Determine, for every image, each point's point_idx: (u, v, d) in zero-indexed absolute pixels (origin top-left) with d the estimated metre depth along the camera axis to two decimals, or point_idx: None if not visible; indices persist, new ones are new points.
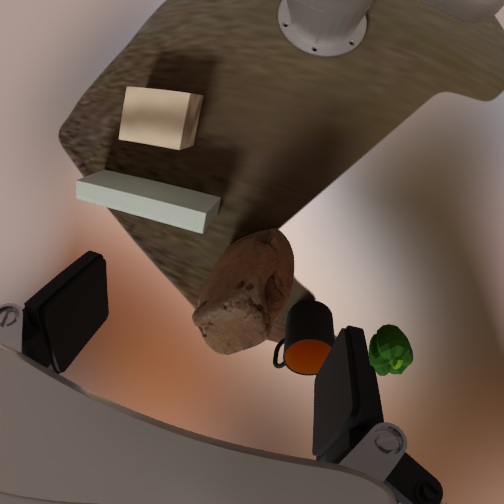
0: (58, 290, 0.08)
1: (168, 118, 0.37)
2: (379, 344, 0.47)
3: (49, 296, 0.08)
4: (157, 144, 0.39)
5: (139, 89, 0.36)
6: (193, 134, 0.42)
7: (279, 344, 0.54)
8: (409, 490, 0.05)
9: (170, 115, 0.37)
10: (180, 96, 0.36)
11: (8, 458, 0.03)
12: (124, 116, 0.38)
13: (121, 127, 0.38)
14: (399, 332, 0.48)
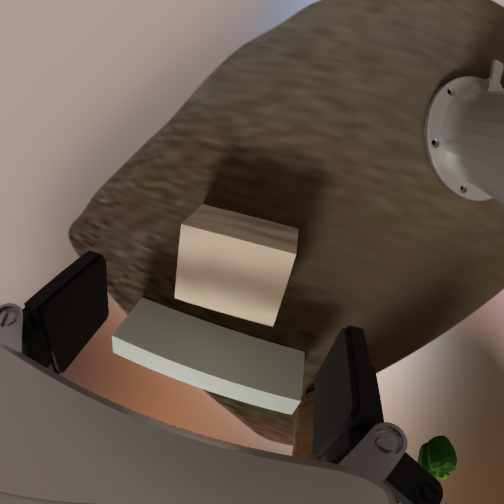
0: (58, 290, 0.08)
1: (258, 285, 0.27)
2: (430, 460, 0.37)
3: (49, 296, 0.08)
4: (239, 315, 0.29)
5: (205, 233, 0.26)
6: None
7: None
8: (409, 490, 0.05)
9: (261, 282, 0.27)
10: (278, 256, 0.25)
11: (8, 458, 0.03)
12: (181, 269, 0.28)
13: (177, 283, 0.28)
14: (449, 446, 0.38)
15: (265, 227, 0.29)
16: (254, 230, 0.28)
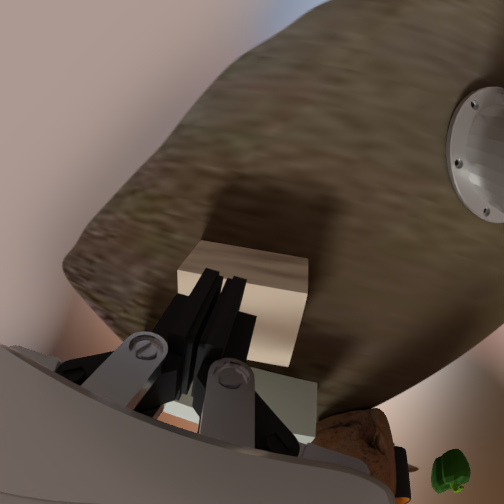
0: (198, 313, 0.09)
1: (268, 328, 0.24)
2: (444, 475, 0.34)
3: (193, 321, 0.08)
4: (250, 358, 0.26)
5: None
6: None
7: None
8: None
9: (271, 324, 0.24)
10: (288, 297, 0.22)
11: (8, 458, 0.03)
12: None
13: None
14: (463, 460, 0.35)
15: (271, 262, 0.26)
16: (259, 268, 0.25)
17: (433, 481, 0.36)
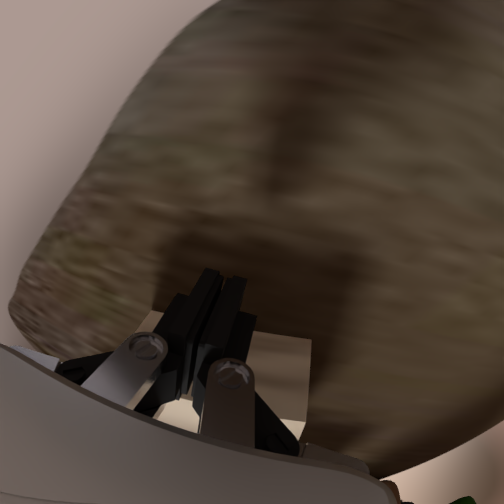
0: (197, 313, 0.09)
1: None
2: None
3: (193, 321, 0.08)
4: None
5: None
6: None
7: None
8: None
9: None
10: None
11: (8, 458, 0.03)
12: None
13: None
14: None
15: (252, 353, 0.16)
16: None
17: None
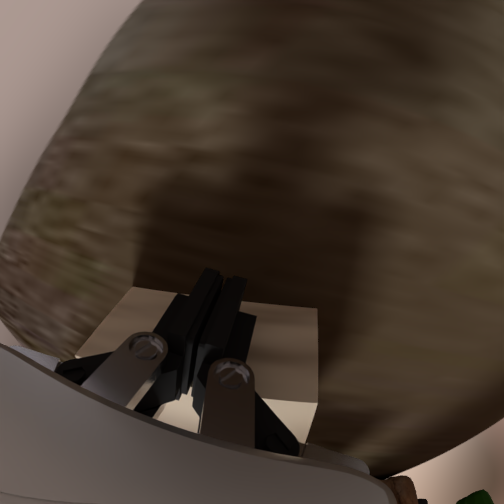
0: (197, 313, 0.09)
1: None
2: None
3: (193, 321, 0.08)
4: None
5: None
6: None
7: None
8: None
9: None
10: (279, 410, 0.10)
11: (8, 458, 0.03)
12: None
13: None
14: (489, 502, 0.22)
15: None
16: None
17: None
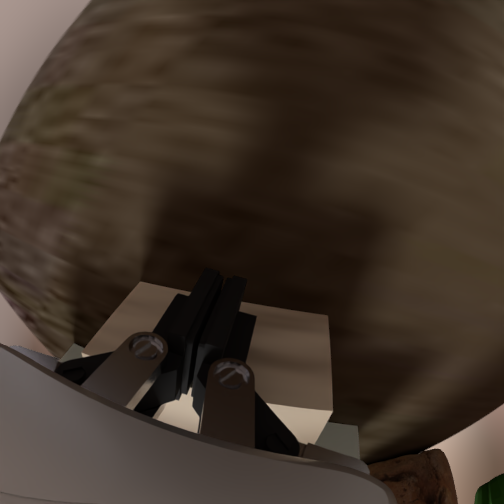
0: (198, 313, 0.09)
1: None
2: None
3: (193, 321, 0.08)
4: None
5: None
6: None
7: None
8: None
9: None
10: (294, 416, 0.10)
11: (8, 458, 0.03)
12: None
13: None
14: None
15: (260, 331, 0.13)
16: None
17: None
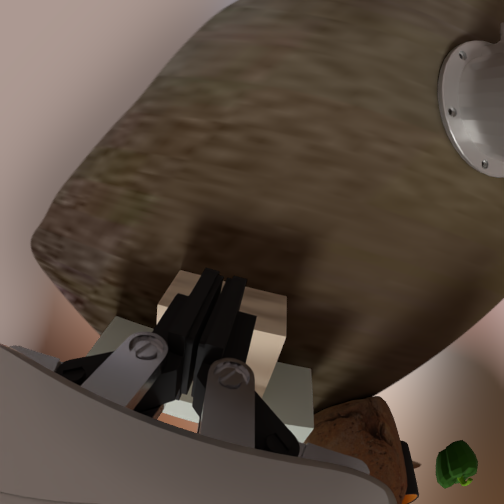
0: (198, 313, 0.09)
1: None
2: (451, 468, 0.32)
3: (193, 321, 0.08)
4: None
5: None
6: None
7: None
8: None
9: (248, 361, 0.24)
10: (267, 339, 0.22)
11: (8, 458, 0.03)
12: None
13: None
14: (469, 451, 0.33)
15: (250, 299, 0.26)
16: None
17: (439, 476, 0.33)
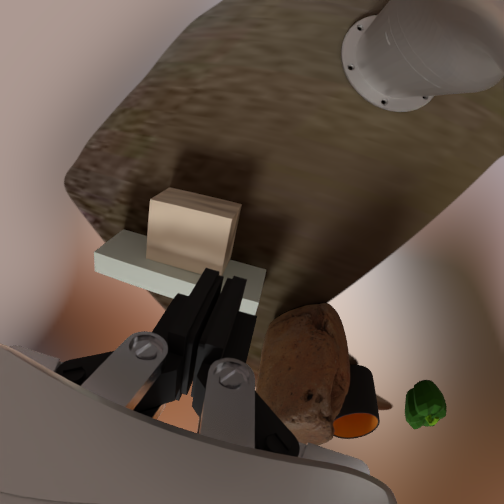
0: (198, 313, 0.09)
1: (206, 245, 0.35)
2: (417, 403, 0.42)
3: (193, 321, 0.08)
4: (193, 270, 0.37)
5: (166, 205, 0.34)
6: (231, 249, 0.40)
7: None
8: None
9: (208, 242, 0.35)
10: (219, 221, 0.34)
11: (8, 458, 0.03)
12: (150, 234, 0.36)
13: (148, 246, 0.37)
14: (436, 389, 0.43)
15: (214, 202, 0.37)
16: (204, 204, 0.36)
17: (406, 413, 0.44)
